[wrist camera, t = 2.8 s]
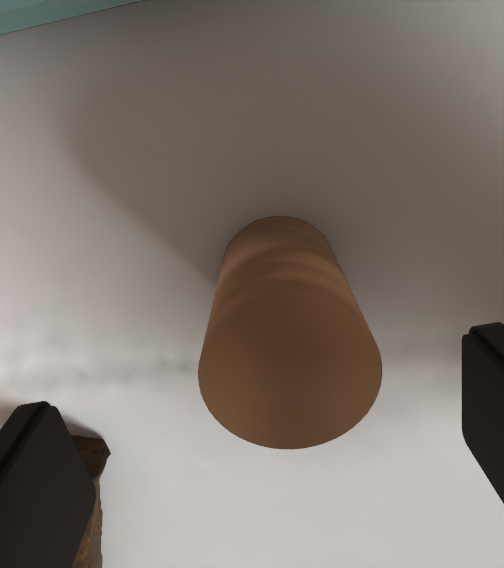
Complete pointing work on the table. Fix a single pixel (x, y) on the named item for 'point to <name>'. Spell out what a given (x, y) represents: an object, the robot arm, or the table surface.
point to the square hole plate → (47, 11)
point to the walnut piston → (286, 340)
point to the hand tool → (94, 459)
